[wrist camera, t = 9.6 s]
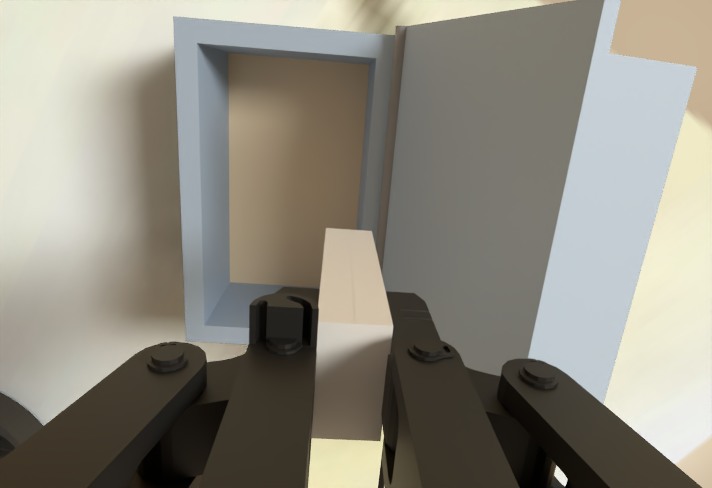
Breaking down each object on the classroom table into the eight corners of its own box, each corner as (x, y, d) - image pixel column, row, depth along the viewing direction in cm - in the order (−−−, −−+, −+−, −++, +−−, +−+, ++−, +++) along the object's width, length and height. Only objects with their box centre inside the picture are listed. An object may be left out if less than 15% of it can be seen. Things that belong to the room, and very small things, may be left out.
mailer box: (218, 289, 32) (186, 341, 26) (214, 34, 27) (173, 16, 21) (364, 297, 33) (370, 351, 26) (387, 48, 28) (400, 35, 21)
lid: (490, 508, 17) (584, 470, 19) (597, -7, 12) (710, 20, 14) (363, 359, 26) (437, 345, 28) (393, 26, 21) (481, 39, 23)
